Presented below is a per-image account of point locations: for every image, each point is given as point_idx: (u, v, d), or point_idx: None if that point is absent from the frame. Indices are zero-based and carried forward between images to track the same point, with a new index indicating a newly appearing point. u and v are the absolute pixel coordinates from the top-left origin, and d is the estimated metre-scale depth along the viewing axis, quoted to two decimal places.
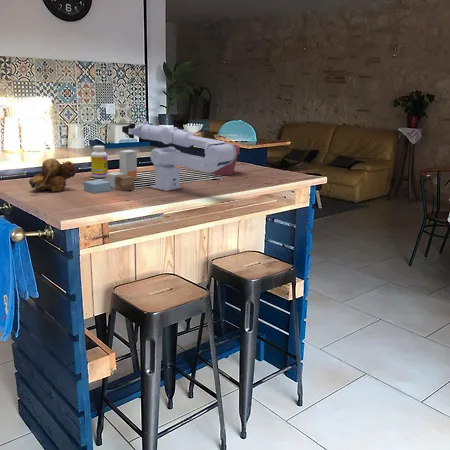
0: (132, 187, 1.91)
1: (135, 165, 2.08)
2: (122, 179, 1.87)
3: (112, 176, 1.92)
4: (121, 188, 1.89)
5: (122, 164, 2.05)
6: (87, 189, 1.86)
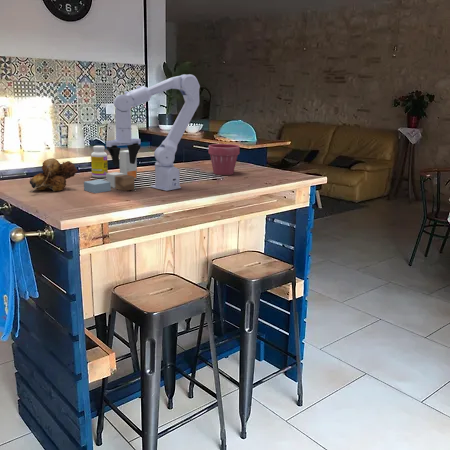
0: (132, 187, 1.91)
1: (135, 165, 2.08)
2: (122, 179, 1.87)
3: (112, 176, 1.92)
4: (121, 188, 1.89)
5: (122, 164, 2.05)
6: (87, 189, 1.86)
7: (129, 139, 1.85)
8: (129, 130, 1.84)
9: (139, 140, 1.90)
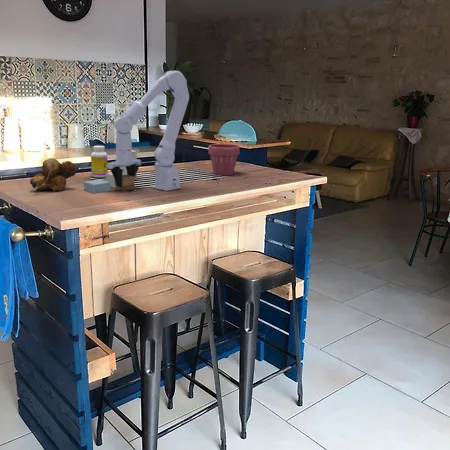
0: (132, 187, 1.91)
1: None
2: (122, 179, 1.87)
3: (112, 176, 1.92)
4: (121, 188, 1.89)
5: None
6: (87, 189, 1.86)
7: (130, 161, 1.87)
8: (129, 152, 1.86)
9: (139, 161, 1.93)
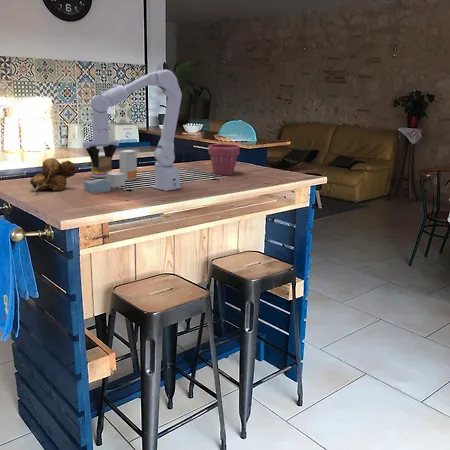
0: (109, 168, 1.86)
1: (135, 165, 2.08)
2: (98, 160, 1.82)
3: (112, 176, 1.92)
4: (98, 169, 1.84)
5: (122, 164, 2.05)
6: (87, 189, 1.86)
7: (106, 140, 1.82)
8: (106, 131, 1.81)
9: (117, 141, 1.88)
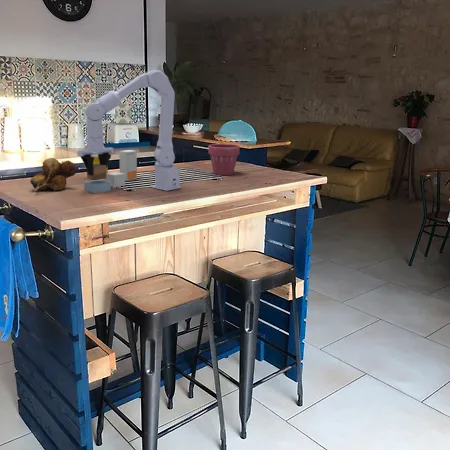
0: (104, 176, 1.86)
1: (135, 165, 2.08)
2: (93, 168, 1.82)
3: (112, 176, 1.92)
4: (92, 177, 1.84)
5: (122, 164, 2.05)
6: (87, 189, 1.86)
7: (101, 148, 1.82)
8: (101, 139, 1.81)
9: (112, 149, 1.88)
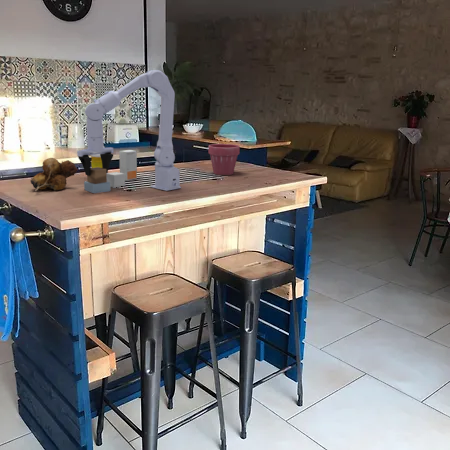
0: (104, 180, 1.86)
1: (135, 165, 2.08)
2: (94, 171, 1.83)
3: (112, 176, 1.92)
4: (93, 180, 1.84)
5: (122, 164, 2.05)
6: (87, 189, 1.86)
7: (101, 148, 1.82)
8: (101, 139, 1.81)
9: (112, 149, 1.88)
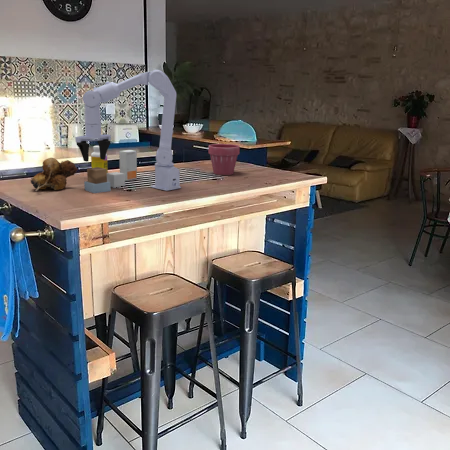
0: (104, 180, 1.86)
1: (135, 165, 2.08)
2: (94, 171, 1.83)
3: (112, 176, 1.92)
4: (93, 181, 1.84)
5: (122, 164, 2.05)
6: (87, 189, 1.86)
7: (99, 135, 1.86)
8: (98, 126, 1.85)
9: (109, 136, 1.92)
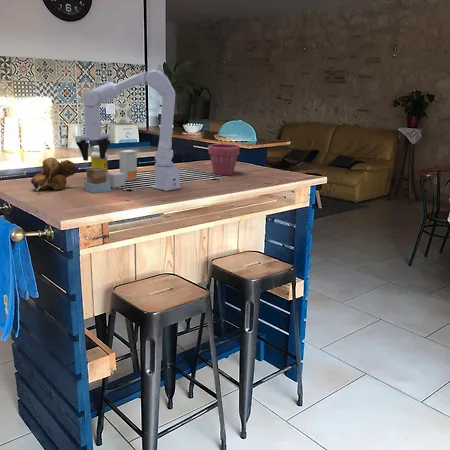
0: (104, 180, 1.86)
1: (135, 165, 2.08)
2: (94, 171, 1.82)
3: (112, 176, 1.92)
4: (93, 181, 1.84)
5: (122, 164, 2.05)
6: (87, 189, 1.86)
7: (98, 134, 1.88)
8: (98, 125, 1.87)
9: (109, 135, 1.94)
